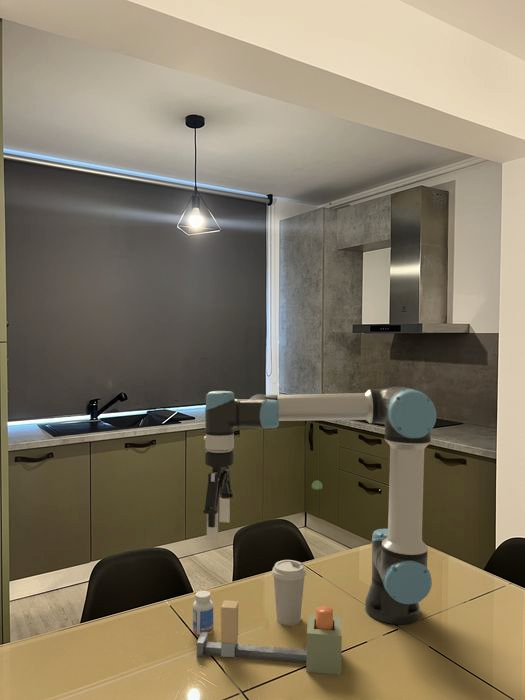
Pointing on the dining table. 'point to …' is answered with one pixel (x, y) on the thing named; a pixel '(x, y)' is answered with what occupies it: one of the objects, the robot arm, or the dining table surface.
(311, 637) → the green square holder
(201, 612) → the pill bottle
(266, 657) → the rail
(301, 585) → the coffee cup
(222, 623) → the carriage
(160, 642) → the dining table surface
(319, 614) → the orange rounded piece
